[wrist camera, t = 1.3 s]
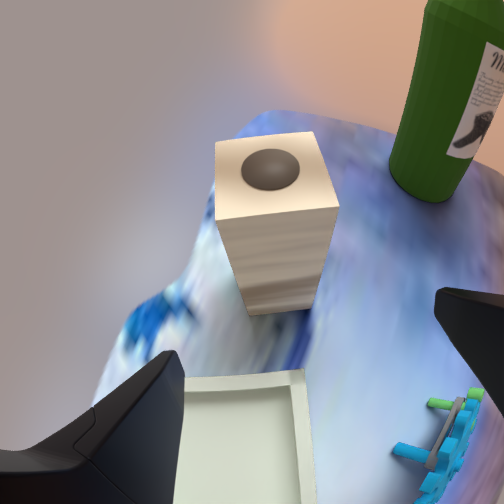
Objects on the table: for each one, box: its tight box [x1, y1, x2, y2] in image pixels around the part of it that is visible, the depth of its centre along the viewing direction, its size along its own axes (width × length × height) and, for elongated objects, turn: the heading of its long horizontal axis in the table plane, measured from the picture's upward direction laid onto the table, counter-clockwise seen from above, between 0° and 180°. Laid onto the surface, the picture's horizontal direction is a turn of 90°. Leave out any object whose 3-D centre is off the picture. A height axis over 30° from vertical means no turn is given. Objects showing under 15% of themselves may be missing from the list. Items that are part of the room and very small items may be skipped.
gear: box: [393, 387, 485, 504], centre depth 13 cm, size 11×6×10 cm
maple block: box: [215, 132, 339, 316], centre depth 18 cm, size 5×5×13 cm
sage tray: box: [173, 368, 317, 504], centre depth 16 cm, size 13×12×3 cm
